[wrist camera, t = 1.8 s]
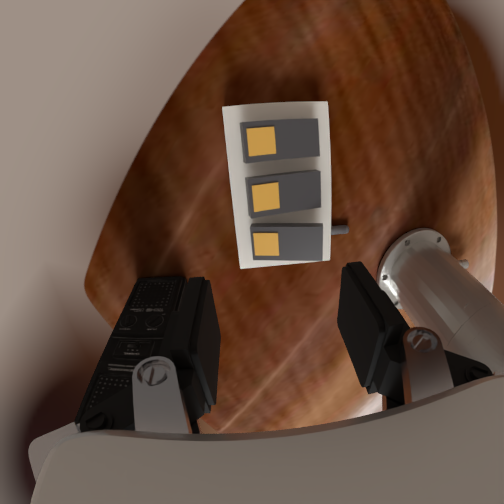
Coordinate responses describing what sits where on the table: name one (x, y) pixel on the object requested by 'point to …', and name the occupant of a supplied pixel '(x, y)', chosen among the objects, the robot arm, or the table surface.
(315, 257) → the rocker near arm
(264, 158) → the rocker far end
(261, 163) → the rocker switch panel
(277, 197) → the rocker middle
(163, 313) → the portable radio
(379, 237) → the table surface
